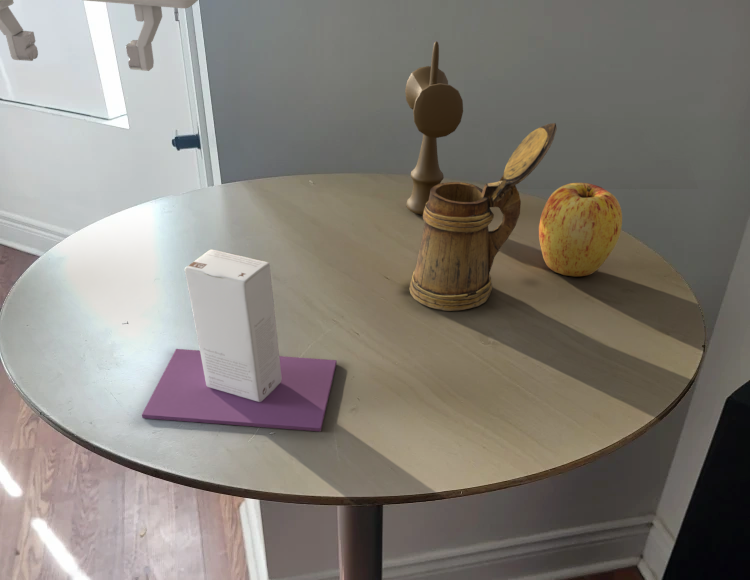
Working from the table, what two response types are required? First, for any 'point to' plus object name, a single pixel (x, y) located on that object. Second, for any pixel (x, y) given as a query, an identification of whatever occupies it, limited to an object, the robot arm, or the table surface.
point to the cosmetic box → (235, 323)
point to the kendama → (430, 125)
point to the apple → (579, 228)
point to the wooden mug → (471, 231)
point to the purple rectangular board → (207, 405)
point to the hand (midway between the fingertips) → (83, 63)
